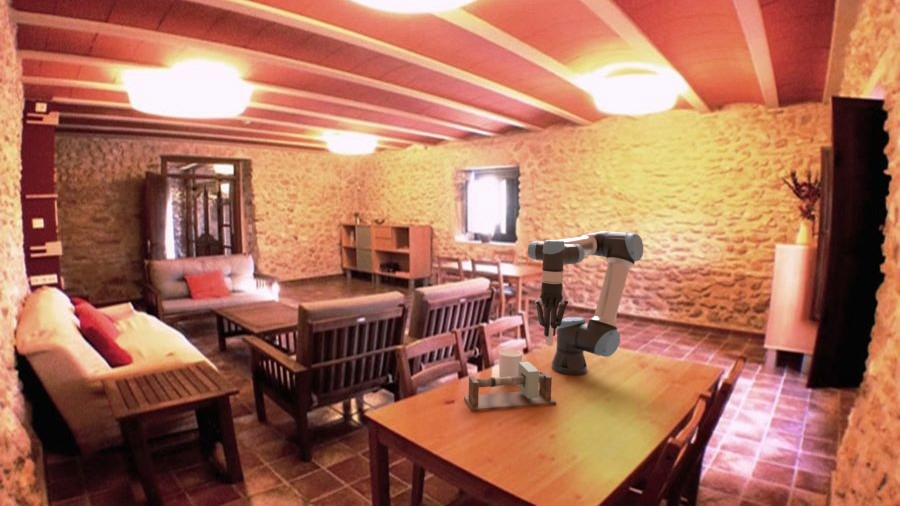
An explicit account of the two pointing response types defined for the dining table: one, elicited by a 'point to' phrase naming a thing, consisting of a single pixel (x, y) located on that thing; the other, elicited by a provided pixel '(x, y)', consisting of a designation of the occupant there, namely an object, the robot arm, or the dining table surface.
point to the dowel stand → (507, 399)
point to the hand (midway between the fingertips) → (549, 344)
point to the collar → (529, 379)
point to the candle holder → (509, 362)
